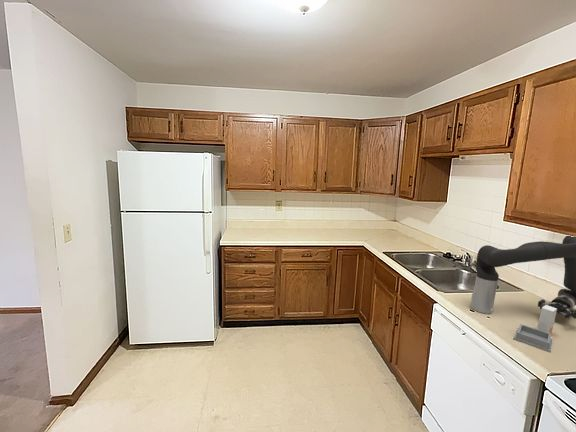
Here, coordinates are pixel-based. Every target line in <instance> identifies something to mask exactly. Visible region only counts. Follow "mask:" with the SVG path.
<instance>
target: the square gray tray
mask: <svg viewBox="0 0 576 432" xmlns="http://www.w3.org/2000/svg"><path fill="white" fill-rule="evenodd" d="M513 340H514V341H517V342H519V343H522V344H525V345H528V346H530V347H534V348H537V349H539V350H543V351H545V352H546V353H547V352H548V353H551V351H552V345H553V338H552V333H547V332H544V331H541V330H538V329H537V328H534V327H532V326H528V325H525V324H523V323H519V326H518V327H517V328H516V330H515V334H514V336H513Z"/></svg>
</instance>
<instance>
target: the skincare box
mask: <svg viewBox="0 0 576 432" xmlns="http://www.w3.org/2000/svg"><path fill="white" fill-rule="evenodd" d="M539 314H540V315H539V319H538V321H537V322H538V323H537V326H536V329H538V330H541V331H544V332H547V333H551V334H552V333H553V329H554V323H555V321H556V320H555V319H556V316H557V308H554V307H551V306H548V305H545V306H543V307H542V309H540V313H539Z"/></svg>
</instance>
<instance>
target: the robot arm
mask: <svg viewBox="0 0 576 432" xmlns="http://www.w3.org/2000/svg"><path fill="white" fill-rule="evenodd" d="M556 259H563V264H564V277H563V287H565V288H561V289H559V290H558V293H557V296H556V297H555V298H554V299H552V300H551V301H549V302H548V301H546V300H545V299H544V298H543V299H540V300H538V302H537V307H539V309H540V310H541V309H542V307H543V306H545V305H548V306H551V307H554V308H557V312H556V314H557V313H558V314H560V315H564V319H570V318H571V317H572V318H573V319H576V309H574V308H575V306H576V237H571V236H567V235H566V236H564V238H563V239H562V242H561V243H559V242H552V241H543V240H541V241H539V240H538V241H532V242H526V243H523V244H521V245H519V246H518V247H516V248H509V249H508V248H507V249H500V248H498V247H494V246H492V245H487V244H486V245H483V246H481V247H480V248H479V249H478V251H477V255H476V261H475V262H476V263H475V271H476V275H475V283H474V288H473V290H472V292H471V293H472V294H471V300H470V306H469V308H470V309H472V310H474V311H476V312H478V313H480V314H489V315H490V314H492V313H493V310H494V305H495V299H496V294H497V288H498V283H499V277H500V276H499V273H498V272H497V270H496V268H499V267H505V266H509V265H514V264H522V263H529V262H538V261H541V262H542V261H547V260H556ZM573 309H574V310H573Z"/></svg>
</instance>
